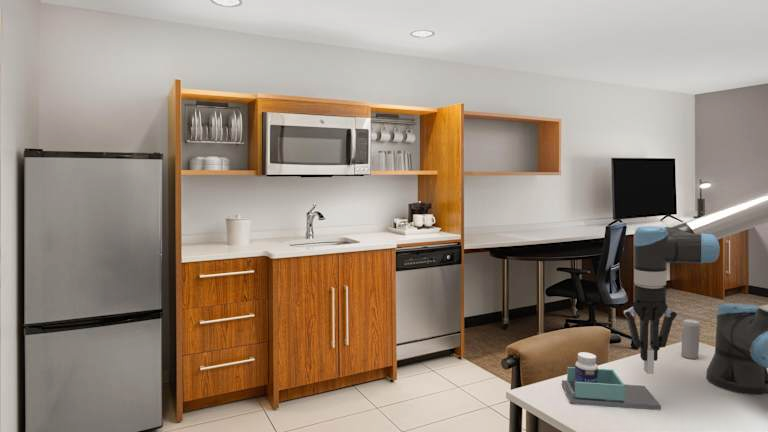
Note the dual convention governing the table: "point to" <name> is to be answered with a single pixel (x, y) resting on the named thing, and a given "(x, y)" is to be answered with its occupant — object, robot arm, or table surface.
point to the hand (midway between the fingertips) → (648, 371)
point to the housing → (599, 386)
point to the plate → (633, 399)
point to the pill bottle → (586, 368)
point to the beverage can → (690, 339)
